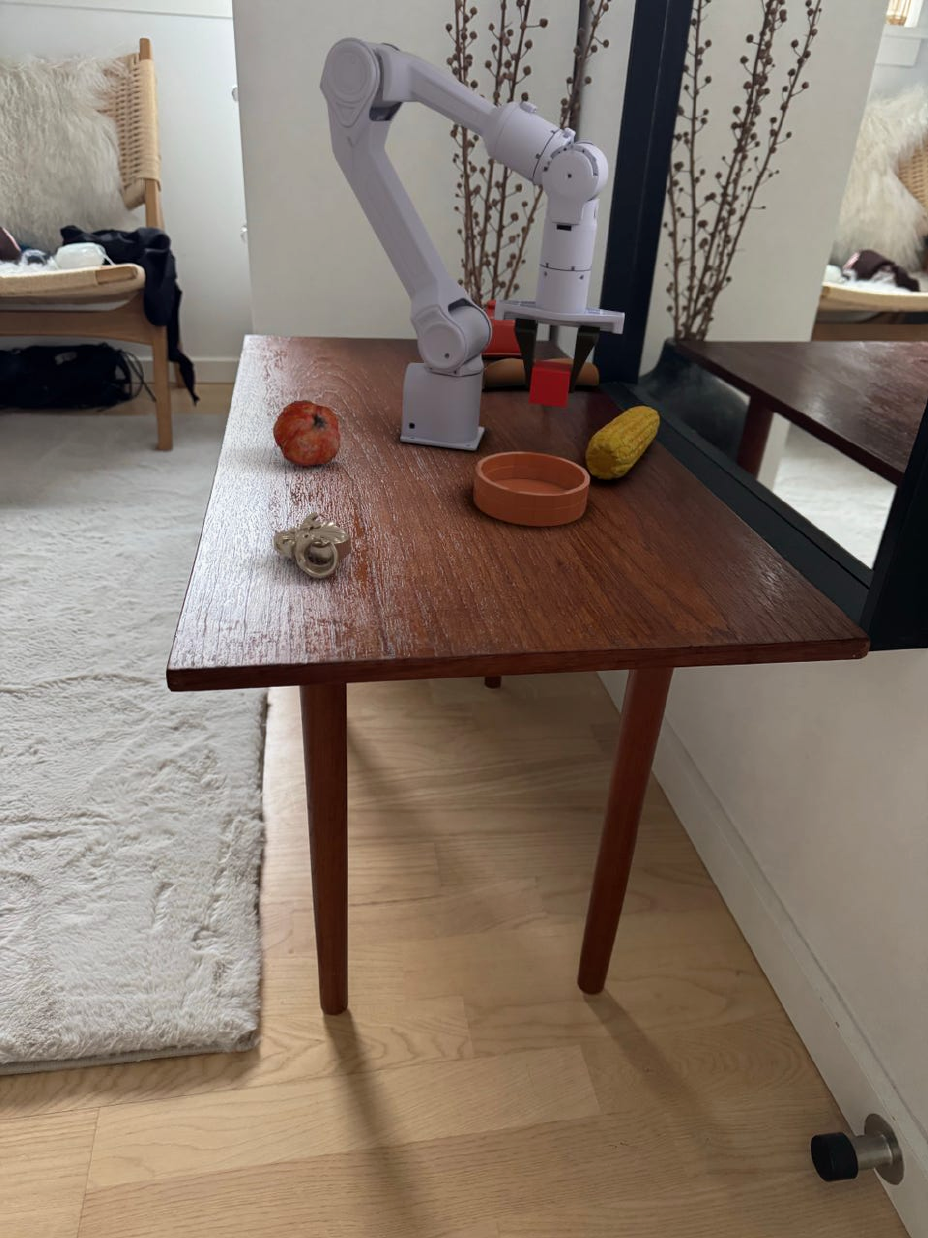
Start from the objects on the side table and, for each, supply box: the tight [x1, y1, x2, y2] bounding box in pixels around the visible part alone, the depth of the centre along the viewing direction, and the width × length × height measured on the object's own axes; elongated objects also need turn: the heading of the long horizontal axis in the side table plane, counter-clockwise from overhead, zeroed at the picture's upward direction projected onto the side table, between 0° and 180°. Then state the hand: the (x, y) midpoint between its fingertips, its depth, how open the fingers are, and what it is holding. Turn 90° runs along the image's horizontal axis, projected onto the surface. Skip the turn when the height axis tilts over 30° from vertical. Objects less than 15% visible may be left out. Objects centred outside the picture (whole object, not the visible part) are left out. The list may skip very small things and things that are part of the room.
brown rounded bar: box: [482, 357, 600, 390], centre depth 134 cm, size 18×7×7 cm
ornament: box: [272, 511, 351, 579], centre depth 80 cm, size 8×7×4 cm
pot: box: [472, 451, 591, 527], centre depth 95 cm, size 12×12×4 cm
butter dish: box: [481, 299, 522, 359], centre depth 147 cm, size 12×12×8 cm
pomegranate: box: [272, 399, 341, 468], centre depth 100 cm, size 7×7×10 cm
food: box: [584, 405, 661, 481], centre depth 109 cm, size 21×6×6 cm, turn 157°
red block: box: [528, 359, 572, 408], centre depth 104 cm, size 4×4×4 cm
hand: (550, 388), depth 105 cm, fingers closed on red block, 4 cm apart
